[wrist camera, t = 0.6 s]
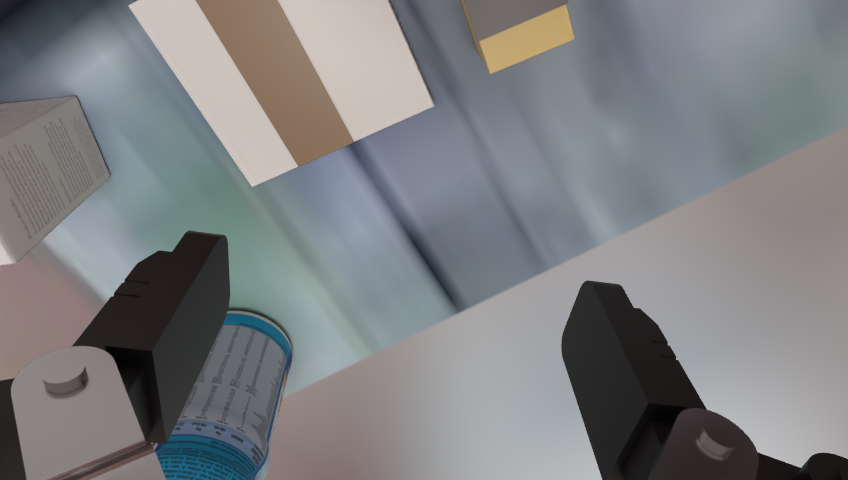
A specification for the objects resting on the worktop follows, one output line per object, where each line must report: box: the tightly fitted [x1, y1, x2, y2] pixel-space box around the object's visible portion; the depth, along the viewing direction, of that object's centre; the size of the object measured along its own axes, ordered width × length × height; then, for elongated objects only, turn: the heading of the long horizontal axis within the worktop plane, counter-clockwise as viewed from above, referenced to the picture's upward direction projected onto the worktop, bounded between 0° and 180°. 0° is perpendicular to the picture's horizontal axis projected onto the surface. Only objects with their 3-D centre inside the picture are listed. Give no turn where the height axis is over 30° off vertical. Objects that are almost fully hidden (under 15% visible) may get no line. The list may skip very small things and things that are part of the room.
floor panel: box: [129, 0, 434, 187], centre depth 31 cm, size 13×12×1 cm
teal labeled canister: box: [146, 311, 292, 480], centre depth 34 cm, size 8×8×20 cm
